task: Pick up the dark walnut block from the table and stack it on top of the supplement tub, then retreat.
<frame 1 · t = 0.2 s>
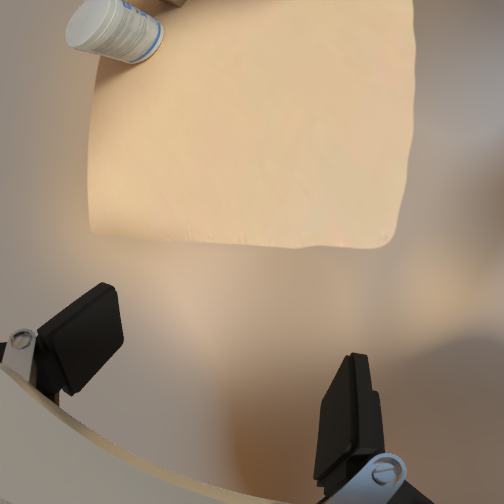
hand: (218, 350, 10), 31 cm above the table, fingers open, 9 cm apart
supplement tub: (143, 42, 33), on the table
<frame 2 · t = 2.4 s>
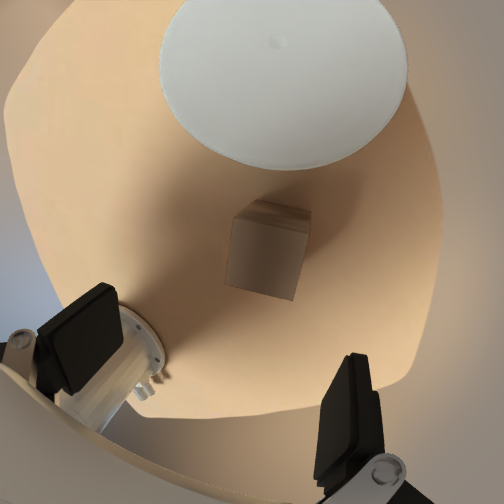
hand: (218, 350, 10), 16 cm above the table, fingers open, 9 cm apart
supplement tub: (299, 109, 21), on the table
walnut block: (278, 232, 25), on the table
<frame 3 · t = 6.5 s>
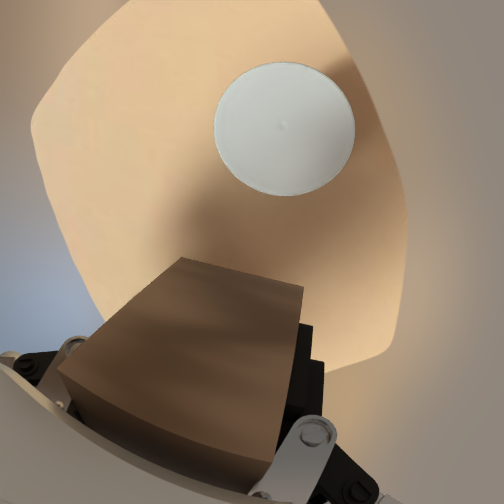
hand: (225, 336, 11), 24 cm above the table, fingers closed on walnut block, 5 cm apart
supplement tub: (295, 140, 29), on the table
walnut block: (232, 322, 11), point 23 cm above the table, touching gripper
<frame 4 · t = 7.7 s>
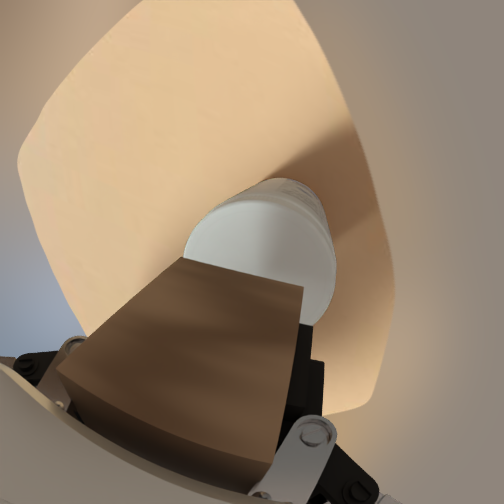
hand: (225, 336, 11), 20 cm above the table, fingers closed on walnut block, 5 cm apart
supplement tub: (282, 220, 29), on the table
walnut block: (232, 322, 11), point 19 cm above the table, touching gripper
when the fingers open (17 cm above the table, at t = 8.6 s): walnut block drops 1 cm, resting on supplement tub.
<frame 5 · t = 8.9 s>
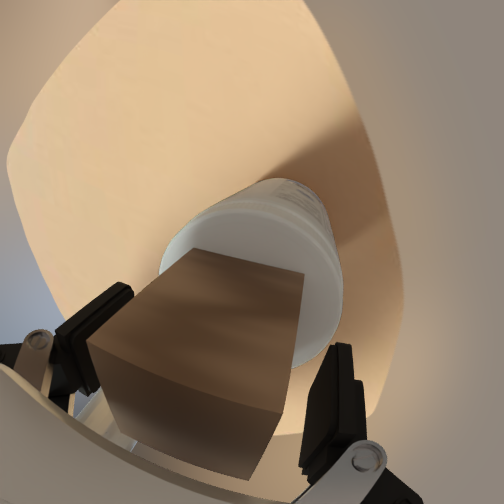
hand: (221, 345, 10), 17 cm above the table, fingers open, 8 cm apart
supplement tub: (281, 225, 26), on the table, touching walnut block
walnut block: (239, 308, 13), point 15 cm above the table, touching supplement tub
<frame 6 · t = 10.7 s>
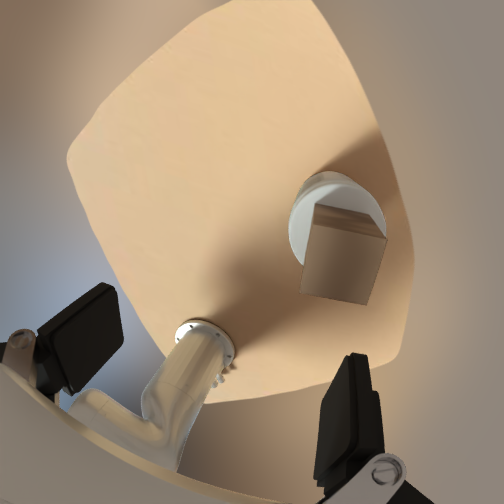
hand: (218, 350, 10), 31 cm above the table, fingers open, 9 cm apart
supplement tub: (330, 203, 37), on the table, touching walnut block
walnut block: (336, 235, 24), point 15 cm above the table, touching supplement tub
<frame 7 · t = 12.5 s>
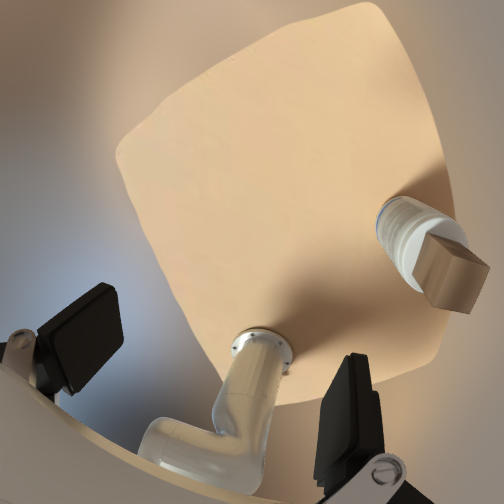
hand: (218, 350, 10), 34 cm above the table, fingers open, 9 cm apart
supplement tub: (401, 223, 38), on the table, touching walnut block
walnut block: (436, 258, 25), point 15 cm above the table, touching supplement tub
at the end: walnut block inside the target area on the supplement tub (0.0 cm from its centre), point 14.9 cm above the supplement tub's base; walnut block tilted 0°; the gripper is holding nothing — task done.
